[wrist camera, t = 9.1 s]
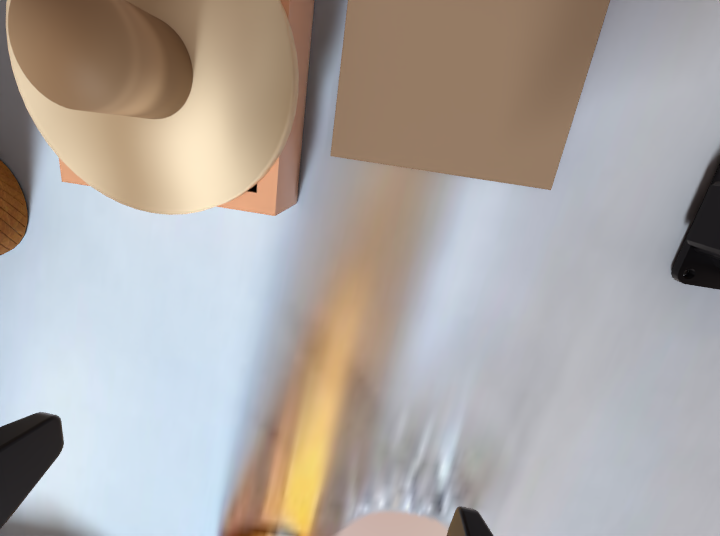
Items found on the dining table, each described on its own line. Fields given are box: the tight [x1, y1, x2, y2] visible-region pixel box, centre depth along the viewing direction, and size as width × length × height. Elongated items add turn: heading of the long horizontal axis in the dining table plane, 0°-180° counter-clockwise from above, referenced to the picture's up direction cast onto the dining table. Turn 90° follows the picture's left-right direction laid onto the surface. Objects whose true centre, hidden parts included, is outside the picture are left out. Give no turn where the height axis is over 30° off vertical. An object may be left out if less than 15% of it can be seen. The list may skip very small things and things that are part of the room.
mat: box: [331, 0, 610, 190], centre depth 15 cm, size 10×10×1 cm
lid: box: [6, 0, 299, 215], centre depth 11 cm, size 10×10×4 cm
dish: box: [59, 0, 314, 216], centre depth 15 cm, size 9×9×4 cm
